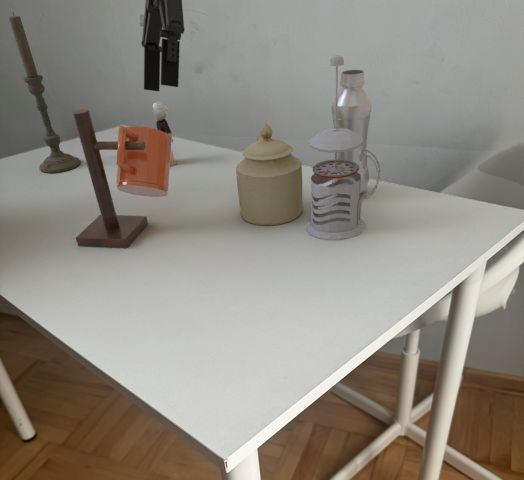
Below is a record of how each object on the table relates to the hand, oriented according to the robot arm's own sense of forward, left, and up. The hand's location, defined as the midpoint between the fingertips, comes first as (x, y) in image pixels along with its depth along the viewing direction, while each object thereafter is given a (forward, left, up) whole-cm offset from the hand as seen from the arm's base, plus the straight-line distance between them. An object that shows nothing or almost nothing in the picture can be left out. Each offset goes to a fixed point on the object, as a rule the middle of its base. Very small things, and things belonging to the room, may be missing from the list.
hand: (159, 88), depth 93 cm
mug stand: (-3, -18, -19) cm, 26 cm away
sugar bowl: (+19, -6, -19) cm, 27 cm away
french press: (+33, -12, -19) cm, 40 cm away
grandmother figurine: (-8, +16, -19) cm, 26 cm away
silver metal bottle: (+33, +2, -19) cm, 38 cm away
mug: (+1, -18, -11) cm, 21 cm away
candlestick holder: (-34, +14, -19) cm, 41 cm away
